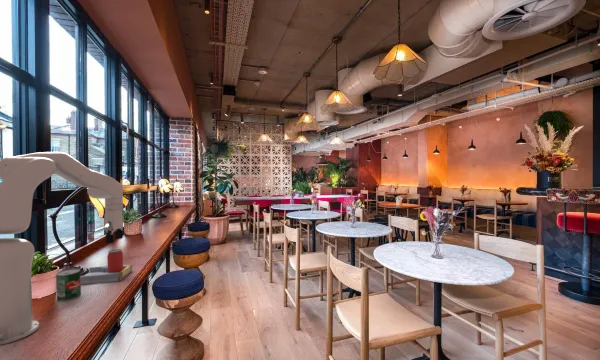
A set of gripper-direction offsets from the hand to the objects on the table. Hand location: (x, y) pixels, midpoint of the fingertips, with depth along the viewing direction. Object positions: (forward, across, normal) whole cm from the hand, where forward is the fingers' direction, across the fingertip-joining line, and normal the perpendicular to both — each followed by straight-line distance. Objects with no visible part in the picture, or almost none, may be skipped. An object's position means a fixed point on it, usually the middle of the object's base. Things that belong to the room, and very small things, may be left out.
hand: (114, 240), depth 137 cm
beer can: (+18, 0, 0) cm, 18 cm away
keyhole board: (+19, -1, -5) cm, 19 cm away
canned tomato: (+19, +21, -8) cm, 30 cm away
